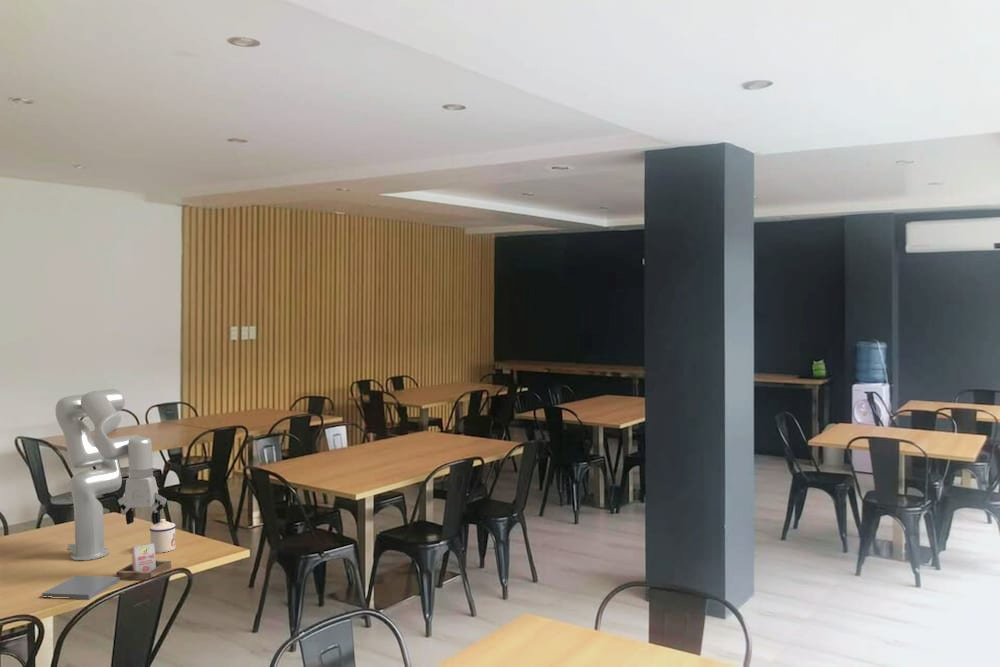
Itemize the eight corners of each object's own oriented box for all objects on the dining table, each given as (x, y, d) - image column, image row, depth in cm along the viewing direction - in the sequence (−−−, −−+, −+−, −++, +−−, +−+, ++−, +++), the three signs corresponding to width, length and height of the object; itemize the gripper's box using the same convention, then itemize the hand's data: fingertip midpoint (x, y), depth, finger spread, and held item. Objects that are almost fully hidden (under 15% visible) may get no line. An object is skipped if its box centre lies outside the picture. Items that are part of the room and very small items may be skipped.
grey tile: (42, 597, 250) (42, 593, 250) (75, 580, 266) (75, 575, 265) (88, 599, 248) (88, 594, 248) (119, 581, 264) (119, 577, 263)
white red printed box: (132, 574, 271) (131, 545, 270) (154, 570, 274) (153, 542, 274) (134, 577, 268) (133, 548, 267) (155, 573, 271) (154, 544, 271)
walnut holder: (116, 579, 266) (116, 572, 265) (138, 567, 278) (137, 560, 278) (151, 580, 264) (150, 573, 264) (171, 567, 276) (171, 560, 276)
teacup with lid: (177, 551, 296) (176, 520, 295) (151, 555, 291) (150, 523, 291) (174, 542, 306) (173, 513, 306) (149, 546, 302) (148, 516, 302)
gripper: (110, 476, 267) (113, 526, 267) (158, 476, 265) (160, 526, 265) (124, 471, 274) (126, 520, 275) (170, 471, 272) (172, 520, 273)
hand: (143, 523), depth 270 cm, fingers open, 9 cm apart
